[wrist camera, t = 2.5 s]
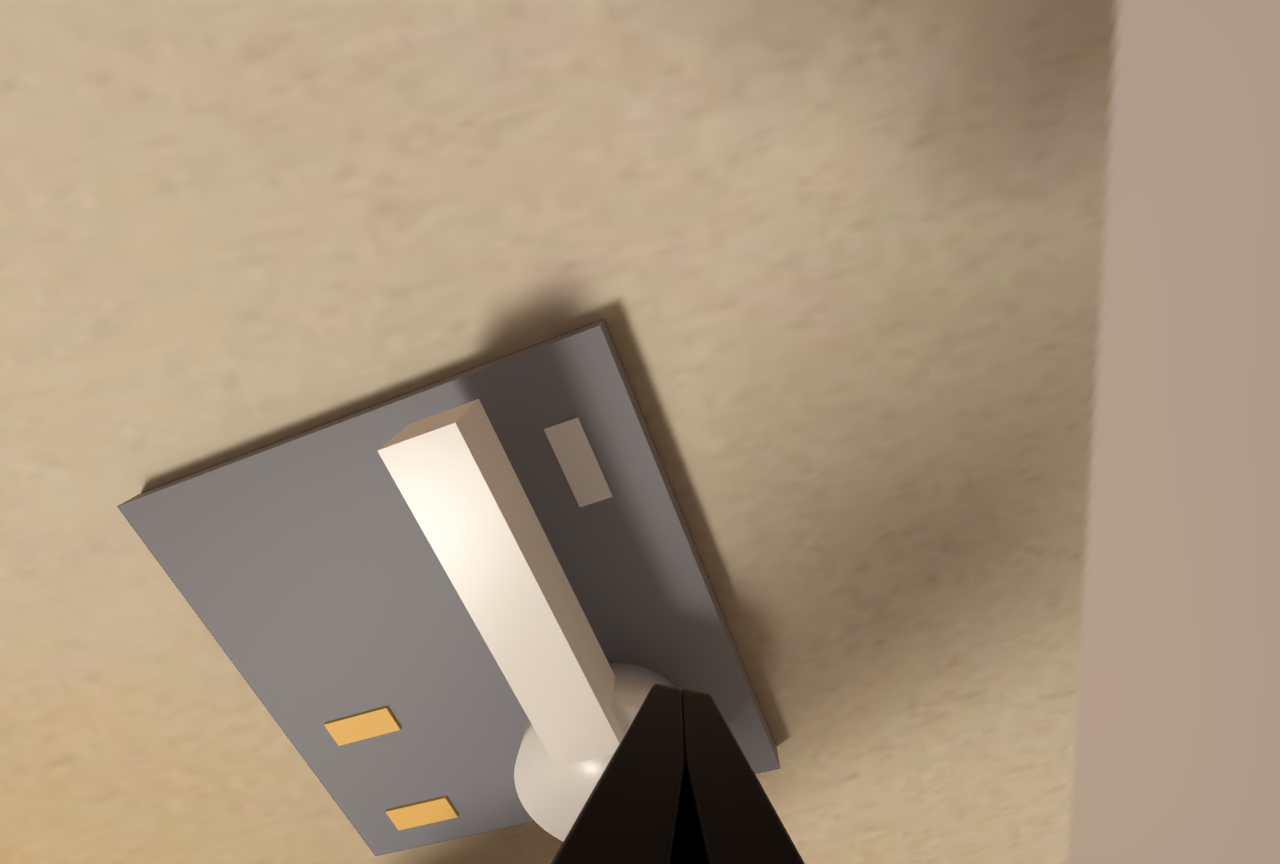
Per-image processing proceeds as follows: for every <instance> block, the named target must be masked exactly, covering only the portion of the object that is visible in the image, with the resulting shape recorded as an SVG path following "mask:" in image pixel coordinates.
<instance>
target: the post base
mask: <svg viewBox="0 0 1280 864" xmlns="http://www.w3.org/2000/svg"><path fill="white" fill-rule="evenodd" d="M477 399H479V400H480V402H481V404H482V406H483V408H484V410H485V412H486V415H487V417H488V419H489V421H490V423H491V425H492V427H493V429H494V431H495V433H496V435H497V437H498V439H499V441H500V443H501V445H502V447H503V449H504V451H505V453H506V455H507V457H508V459H509V461H510V463H511V465H512V467H513V469H514V472H515V474H516V476H517V478H518V480H519V482H520V484H521V486H522V488H523V490H524V492H525V494H526V496H527V498H528V500H529V502H530V504H531V506H532V508H533V510H534V512H535V514H536V516H537V518H538V520H539V522H540V524H541V526H542V529H543V531H544V533H545V535H546V537H547V539H548V541H549V543H550V545H551V547H552V549H553V551H554V553H555V555H556V557H557V559H558V561H559V563H560V565H561V567H562V569H563V571H564V573H565V575H566V577H567V579H568V581H569V583H570V585H571V588H572V590H573V592H574V594H575V596H576V598H577V600H578V602H579V604H580V606H581V608H582V610H583V612H584V614H585V616H586V618H587V620H588V622H589V624H590V626H591V628H592V630H593V632H594V634H595V636H596V638H597V640H598V642H599V645H600V647H601V649H602V651H603V653H604V655H605V657H606V659H607V661H608V663H609V665H610V667H611V669H612V671H613V673H614V675H615V677H626V678H633V679H638V680H642V681H646V682H649V683H652V684H664V685H670V686H676V687H679V688H680V689H681V690H682V689H684V688H687V689H693V690H698V691H704V692H708V693H709V694H710V695H711V696H712V697H713V699H714V701H715V703H716V705H717V706H718V708H719V710H720V712H721V714H722V715H723V717H724V719H725V721H726V723H727V724H728V726H729V728H730V730H731V732H732V733H733V735H734V737H735V739H736V741H737V743H738V744H739V746H740V748H741V750H742V752H743V753H744V755H745V757H746V759H747V761H748V762H749V764H750V766H751V768H752V770H753V771H754V773H755V774H757V773H762V772H766V771H771V770H775V769H780V765H779V759H778V753H777V747H776V745H775V742H774V740H773V737H772V735H771V732H770V730H769V727H768V725H767V722H766V720H765V718H764V715H763V713H762V710H761V708H760V705H759V703H758V700H757V698H756V695H755V693H754V690H753V688H752V685H751V683H750V680H749V678H748V675H747V673H746V670H745V668H744V665H743V663H742V660H741V658H740V656H739V653H738V651H737V648H736V646H735V643H734V641H733V638H732V636H731V633H730V631H729V628H728V626H727V623H726V621H725V618H724V616H723V613H722V611H721V608H720V606H719V603H718V601H717V598H716V596H715V593H714V591H713V589H712V586H711V584H710V581H709V579H708V576H707V574H706V571H705V569H704V566H703V564H702V561H701V559H700V556H699V554H698V551H697V549H696V546H695V544H694V541H693V539H692V536H691V534H690V531H689V529H688V527H687V524H686V522H685V519H684V517H683V514H682V512H681V509H680V507H679V504H678V502H677V499H676V497H675V494H674V492H673V489H672V487H671V484H670V482H669V479H668V477H667V474H666V472H665V469H664V467H663V464H662V462H661V460H660V457H659V455H658V452H657V450H656V447H655V445H654V442H653V440H652V437H651V435H650V432H649V430H648V427H647V425H646V422H645V420H644V417H643V415H642V412H641V410H640V407H639V405H638V402H637V400H636V398H635V395H634V393H633V390H632V388H631V385H630V383H629V380H628V378H627V375H626V373H625V370H624V368H623V365H622V363H621V360H620V358H619V355H618V353H617V350H616V348H615V345H614V343H613V340H612V338H611V335H610V333H609V331H608V328H607V326H606V323H605V321H604V319H603V320H600V321H597V322H595V323H592V324H589V325H587V326H584V327H581V328H579V329H576V330H573V331H571V332H568V333H565V334H563V335H560V336H557V337H555V338H552V339H550V340H547V341H544V342H542V343H539V344H536V345H534V346H531V347H528V348H526V349H523V350H520V351H518V352H515V353H512V354H510V355H507V356H504V357H502V358H499V359H496V360H494V361H491V362H489V363H486V364H483V365H481V366H478V367H475V368H473V369H470V370H467V371H465V372H462V373H459V374H457V375H454V376H451V377H449V378H446V379H443V380H441V381H438V382H435V383H433V384H430V385H427V386H425V387H422V388H420V389H417V390H414V391H412V392H409V393H406V394H404V395H401V396H398V397H396V398H393V399H390V400H388V401H385V402H382V403H380V404H377V405H374V406H372V407H369V408H366V409H364V410H361V411H358V412H356V413H353V414H351V415H348V416H345V417H343V418H340V419H337V420H335V421H332V422H329V423H327V424H324V425H321V426H319V427H316V428H313V429H311V430H308V431H305V432H303V433H300V434H297V435H295V436H292V437H290V438H287V439H284V440H282V441H279V442H276V443H274V444H271V445H268V446H266V447H263V448H260V449H258V450H255V451H252V452H250V453H247V454H244V455H242V456H239V457H236V458H234V459H231V460H228V461H226V462H223V463H221V464H218V465H215V466H213V467H210V468H207V469H205V470H202V471H199V472H197V473H194V474H191V475H189V476H186V477H183V478H181V479H178V480H175V481H173V482H170V483H167V484H165V485H162V486H159V487H157V488H154V489H152V490H149V491H146V492H144V493H141V494H139V495H137V496H135V497H133V498H132V499H130V500H128V501H126V502H124V503H123V504H121V505H119V506H117V507H118V508H119V510H120V511H121V512H122V514H123V515H124V516H125V518H126V519H127V521H128V522H129V523H130V525H131V526H132V527H133V529H134V530H135V531H136V533H137V534H138V535H139V537H140V538H141V539H142V541H143V542H144V544H145V545H146V546H147V548H148V549H149V550H150V552H151V553H152V554H153V556H154V557H155V558H156V560H157V561H158V562H159V564H160V565H161V567H162V568H163V569H164V571H165V572H166V573H167V575H168V576H169V577H170V579H171V580H172V581H173V583H174V584H175V586H176V587H177V588H178V590H179V591H180V592H181V594H182V595H183V596H184V598H185V599H186V600H187V602H188V603H189V604H190V606H191V607H192V609H193V610H194V611H195V613H196V614H197V615H198V617H199V618H200V619H201V621H202V622H203V623H204V625H205V626H206V627H207V629H208V630H209V632H210V633H211V634H212V636H213V637H214V638H215V640H216V641H217V642H218V644H219V645H220V646H221V648H222V649H223V650H224V652H225V653H226V655H227V656H228V657H229V659H230V660H231V661H232V663H233V664H234V665H235V667H236V668H237V669H238V671H239V672H240V673H241V675H242V676H243V678H244V679H245V680H246V682H247V683H248V684H249V686H250V687H251V688H252V690H253V691H254V692H255V694H256V695H257V696H258V698H259V699H260V701H261V702H262V703H263V705H264V706H265V707H266V709H267V710H268V711H269V713H270V714H271V715H272V717H273V718H274V719H275V721H276V722H277V724H278V725H279V726H280V728H281V729H282V730H283V732H284V733H285V734H286V736H287V737H288V738H289V740H290V741H291V742H292V744H293V745H294V747H295V748H296V749H297V751H298V752H299V753H300V755H301V756H302V757H303V759H304V760H305V761H306V763H307V764H308V765H309V767H310V768H311V770H312V771H313V772H314V774H315V775H316V776H317V778H318V779H319V780H320V782H321V783H322V784H323V786H324V787H325V789H326V790H327V791H328V793H329V794H330V795H331V797H332V798H333V799H334V801H335V802H336V803H337V805H338V806H339V807H340V809H341V810H342V812H343V813H344V814H345V816H346V817H347V818H348V820H349V821H350V822H351V824H352V825H353V826H354V828H355V829H356V830H357V832H358V833H359V835H360V836H361V837H362V839H363V840H364V841H365V843H366V844H367V845H368V847H369V848H370V849H371V851H372V852H373V853H374V855H375V856H379V855H384V854H388V853H393V852H397V851H402V850H407V849H411V848H416V847H420V846H425V845H430V844H434V843H439V842H443V841H448V840H453V839H457V838H462V837H467V836H471V835H476V834H480V833H485V832H490V831H494V830H499V829H503V828H508V827H513V826H517V825H522V824H526V823H531V822H535V821H534V820H533V819H532V818H531V816H530V815H529V814H528V813H527V811H526V810H525V808H524V807H523V805H522V803H521V801H520V799H519V797H518V794H517V791H516V788H515V781H514V768H515V763H516V759H517V755H518V752H519V748H520V745H521V742H522V738H523V735H524V732H525V728H526V725H527V723H528V720H529V719H528V717H527V715H526V713H525V711H524V710H523V708H522V706H521V704H520V703H519V701H518V699H517V697H516V696H515V694H514V692H513V690H512V688H511V687H510V685H509V683H508V681H507V680H506V678H505V676H504V674H503V673H502V671H501V669H500V667H499V665H498V664H497V662H496V660H495V658H494V657H493V655H492V653H491V651H490V650H489V648H488V646H487V644H486V642H485V641H484V639H483V637H482V635H481V634H480V632H479V630H478V628H477V626H476V625H475V623H474V621H473V619H472V618H471V616H470V614H469V612H468V611H467V609H466V607H465V605H464V603H463V602H462V600H461V598H460V596H459V595H458V593H457V591H456V589H455V588H454V586H453V584H452V582H451V580H450V579H449V577H448V575H447V573H446V572H445V570H444V568H443V566H442V565H441V563H440V561H439V559H438V557H437V556H436V554H435V552H434V550H433V549H432V547H431V545H430V543H429V541H428V540H427V538H426V536H425V534H424V533H423V531H422V529H421V527H420V526H419V524H418V522H417V520H416V518H415V517H414V515H413V513H412V511H411V510H410V508H409V506H408V504H407V503H406V501H405V499H404V497H403V495H402V494H401V492H400V490H399V488H398V487H397V485H396V483H395V481H394V480H393V478H392V476H391V474H390V472H389V471H388V469H387V467H386V465H385V464H384V462H383V460H382V458H381V457H380V455H379V453H378V451H377V450H379V449H380V448H381V447H382V446H383V445H385V444H386V443H387V442H388V441H389V440H390V439H392V438H393V437H394V436H395V435H396V434H397V433H399V432H400V431H401V430H402V429H403V428H405V427H406V426H407V425H408V424H411V423H414V422H417V421H419V420H422V419H425V418H428V417H430V416H433V415H436V414H438V413H441V412H444V411H447V410H449V409H452V408H455V407H458V406H460V405H463V404H466V403H469V402H471V401H474V400H477Z"/></svg>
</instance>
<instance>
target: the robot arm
mask: <svg viewBox="0 0 1280 864" xmlns="http://www.w3.org/2000/svg"><path fill="white" fill-rule="evenodd" d="M551 864H805V863H804V862H803V860H802V858H801V856H800V854H799V853H798V851H797V849H796V847H795V845H794V844H793V842H792V840H791V838H790V836H789V834H788V833H787V831H786V829H785V827H784V825H783V824H782V822H781V820H780V818H779V816H778V815H777V813H776V811H775V809H774V807H773V806H772V804H771V802H770V800H769V798H768V797H767V795H766V793H765V791H764V789H763V788H762V786H761V784H760V782H759V780H758V779H757V777H756V775H755V773H754V771H753V770H752V768H751V766H750V764H749V762H748V761H747V759H746V757H745V755H744V753H743V752H742V750H741V748H740V746H739V744H738V743H737V741H736V739H735V737H734V735H733V733H732V732H731V730H730V728H729V726H728V724H727V723H726V721H725V719H724V717H723V715H722V714H721V712H720V710H719V708H718V706H717V705H716V703H715V701H714V699H713V697H712V696H711V695H710V694H709V693H708V692H704V691H698V690H693V689H687V688H684V689H682V690H681V689H680V688H679V687H676V686H670V685H664V684H654V685H653V686H652V687H651V689H650V691H649V693H648V694H647V696H646V698H645V700H644V701H643V703H642V705H641V707H640V708H639V710H638V712H637V714H636V715H635V717H634V719H633V721H632V722H631V724H630V726H629V728H628V729H627V731H626V733H625V735H624V736H623V738H622V740H621V742H620V743H619V745H618V747H617V749H616V750H615V752H614V754H613V756H612V757H611V759H610V761H609V763H608V764H607V766H606V768H605V770H604V771H603V773H602V775H601V777H600V779H599V780H598V782H597V784H596V786H595V787H594V789H593V791H592V793H591V794H590V796H589V798H588V800H587V801H586V803H585V805H584V807H583V808H582V810H581V812H580V814H579V815H578V817H577V819H576V821H575V822H574V824H573V826H572V828H571V829H570V831H569V833H568V835H567V836H566V838H565V840H564V842H563V843H562V845H561V847H560V849H559V850H558V852H557V854H556V856H555V857H554V859H553V861H552V863H551Z"/></svg>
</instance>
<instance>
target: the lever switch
mask: <svg viewBox="0 0 1280 864" xmlns="http://www.w3.org/2000/svg"><path fill="white" fill-rule="evenodd" d="M377 451H378V453H379V455H380V457H381V458H382V460H383V462H384V464H385V465H386V467H387V469H388V471H389V472H390V474H391V476H392V478H393V480H394V481H395V483H396V485H397V487H398V488H399V490H400V492H401V494H402V495H403V497H404V499H405V501H406V503H407V504H408V506H409V508H410V510H411V511H412V513H413V515H414V517H415V518H416V520H417V522H418V524H419V526H420V527H421V529H422V531H423V533H424V534H425V536H426V538H427V540H428V541H429V543H430V545H431V547H432V549H433V550H434V552H435V554H436V556H437V557H438V559H439V561H440V563H441V565H442V566H443V568H444V570H445V572H446V573H447V575H448V577H449V579H450V580H451V582H452V584H453V586H454V588H455V589H456V591H457V593H458V595H459V596H460V598H461V600H462V602H463V603H464V605H465V607H466V609H467V611H468V612H469V614H470V616H471V618H472V619H473V621H474V623H475V625H476V626H477V628H478V630H479V632H480V634H481V635H482V637H483V639H484V641H485V642H486V644H487V646H488V648H489V650H490V651H491V653H492V655H493V657H494V658H495V660H496V662H497V664H498V665H499V667H500V669H501V671H502V673H503V674H504V676H505V678H506V680H507V681H508V683H509V685H510V687H511V688H512V690H513V692H514V694H515V696H516V697H517V699H518V701H519V703H520V704H521V706H522V708H523V710H524V711H525V713H526V715H527V717H528V719H529V720H528V723H527V725H526V728H525V732H524V735H523V738H522V742H521V745H520V748H519V752H518V755H517V759H516V763H515V768H514V781H515V788H516V791H517V794H518V797H519V799H520V801H521V803H522V805H523V807H524V808H525V810H526V811H527V813H528V814H529V815H530V816H531V818H532V819H533V820H534V821H535V822H536V823H537V824H538V825H539V826H540V827H542V828H543V829H544V830H545V831H546V832H548V833H549V834H551V835H552V836H554V837H555V838H557V839H559V840H561V841H563V842H564V840H565V838H566V836H567V835H568V833H569V831H570V829H571V828H572V826H573V824H574V822H575V821H576V819H577V817H578V815H579V814H580V812H581V810H582V808H583V807H584V805H585V803H586V801H587V800H588V798H589V796H590V794H591V793H592V791H593V789H594V787H595V786H596V784H597V782H598V780H599V779H600V777H601V775H602V773H603V771H604V770H605V768H606V766H607V764H608V763H609V761H610V759H611V757H612V756H613V754H614V752H615V750H616V749H617V747H618V745H619V743H620V742H621V740H622V738H623V736H624V735H625V733H626V731H627V729H628V728H629V726H630V724H631V722H632V721H633V719H634V717H635V715H636V714H637V712H638V710H639V708H640V707H641V705H642V703H643V701H644V700H645V698H646V696H647V694H648V693H649V691H650V689H651V687H652V686H653V685H654V684H652V683H649V682H646V681H642V680H638V679H633V678H626V677H615V675H614V673H613V671H612V669H611V667H610V665H609V663H608V661H607V659H606V657H605V655H604V653H603V651H602V649H601V647H600V645H599V642H598V640H597V638H596V636H595V634H594V632H593V630H592V628H591V626H590V624H589V622H588V620H587V618H586V616H585V614H584V612H583V610H582V608H581V606H580V604H579V602H578V600H577V598H576V596H575V594H574V592H573V590H572V588H571V585H570V583H569V581H568V579H567V577H566V575H565V573H564V571H563V569H562V567H561V565H560V563H559V561H558V559H557V557H556V555H555V553H554V551H553V549H552V547H551V545H550V543H549V541H548V539H547V537H546V535H545V533H544V531H543V529H542V526H541V524H540V522H539V520H538V518H537V516H536V514H535V512H534V510H533V508H532V506H531V504H530V502H529V500H528V498H527V496H526V494H525V492H524V490H523V488H522V486H521V484H520V482H519V480H518V478H517V476H516V474H515V472H514V469H513V467H512V465H511V463H510V461H509V459H508V457H507V455H506V453H505V451H504V449H503V447H502V445H501V443H500V441H499V439H498V437H497V435H496V433H495V431H494V429H493V427H492V425H491V423H490V421H489V419H488V417H487V415H486V412H485V410H484V408H483V406H482V404H481V402H480V400H479V399H477V400H474V401H471V402H469V403H466V404H463V405H460V406H458V407H455V408H452V409H449V410H447V411H444V412H441V413H438V414H436V415H433V416H430V417H428V418H425V419H422V420H419V421H417V422H414V423H411V424H408V425H407V426H406V427H405V428H403V429H402V430H401V431H400V432H399V433H397V434H396V435H395V436H394V437H393V438H392V439H390V440H389V441H388V442H387V443H386V444H385V445H383V446H382V447H381V448H380V449H379V450H377Z"/></svg>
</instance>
